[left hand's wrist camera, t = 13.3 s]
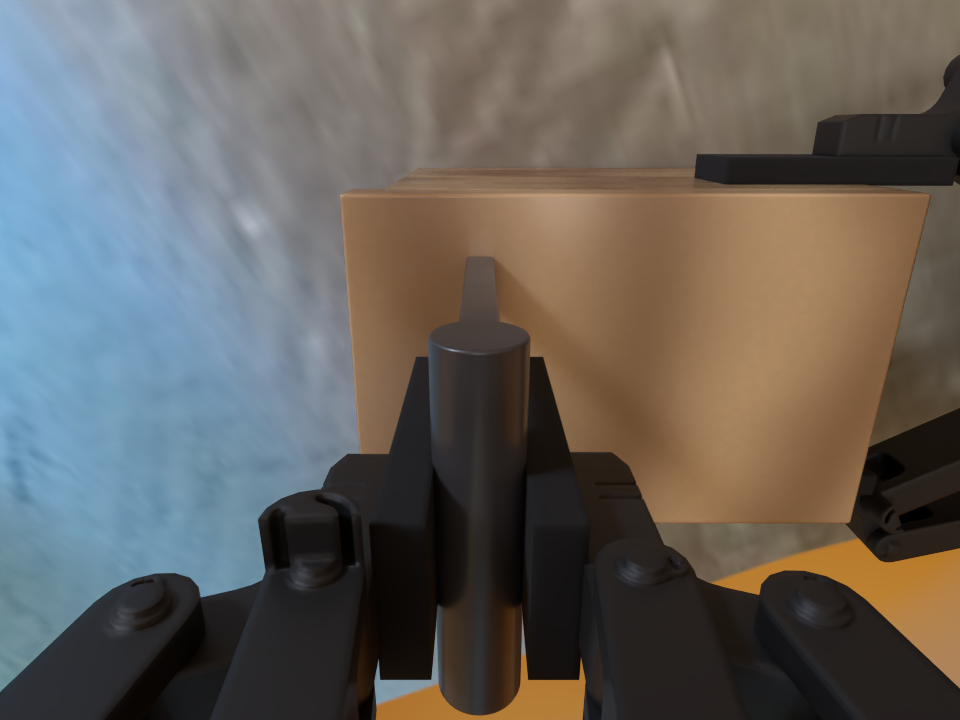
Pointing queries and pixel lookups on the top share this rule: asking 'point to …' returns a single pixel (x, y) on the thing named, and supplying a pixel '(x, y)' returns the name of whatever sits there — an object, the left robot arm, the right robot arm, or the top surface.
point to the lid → (622, 361)
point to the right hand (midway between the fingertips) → (689, 330)
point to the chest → (576, 179)
